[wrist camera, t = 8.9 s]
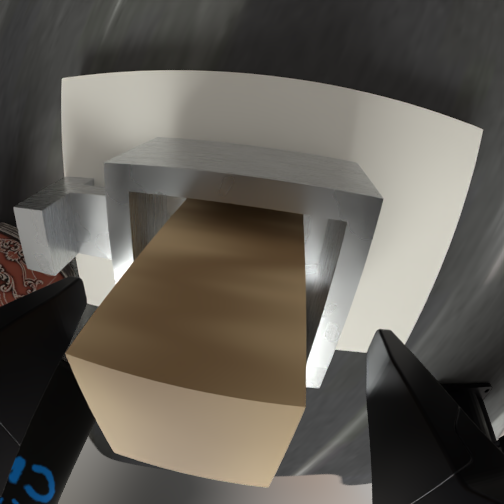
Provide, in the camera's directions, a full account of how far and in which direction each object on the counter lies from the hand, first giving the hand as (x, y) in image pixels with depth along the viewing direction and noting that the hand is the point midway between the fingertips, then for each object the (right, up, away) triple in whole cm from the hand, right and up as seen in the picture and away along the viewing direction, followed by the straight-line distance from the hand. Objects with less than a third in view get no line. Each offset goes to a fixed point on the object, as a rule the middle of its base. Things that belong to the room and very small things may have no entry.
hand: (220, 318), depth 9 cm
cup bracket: (-2, +3, +5) cm, 7 cm away
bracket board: (+1, +4, +6) cm, 8 cm away
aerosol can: (-17, -11, +17) cm, 27 cm away
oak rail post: (+1, +2, +3) cm, 4 cm away
